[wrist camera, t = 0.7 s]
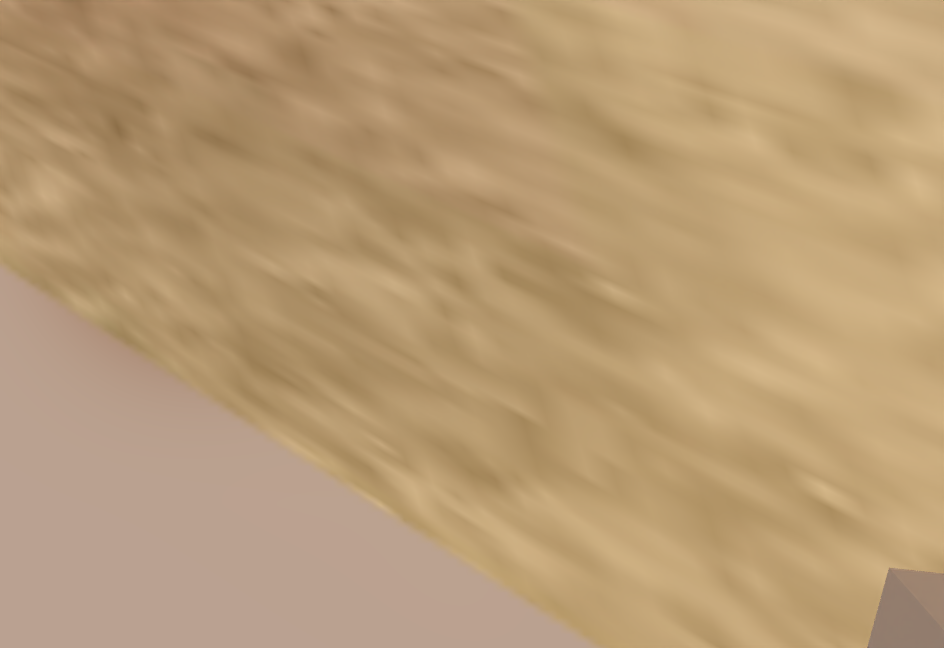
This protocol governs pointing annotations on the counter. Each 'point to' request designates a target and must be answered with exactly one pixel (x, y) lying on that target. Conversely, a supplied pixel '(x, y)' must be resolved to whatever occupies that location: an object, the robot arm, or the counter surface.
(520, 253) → the counter surface
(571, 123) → the counter surface
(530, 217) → the counter surface
